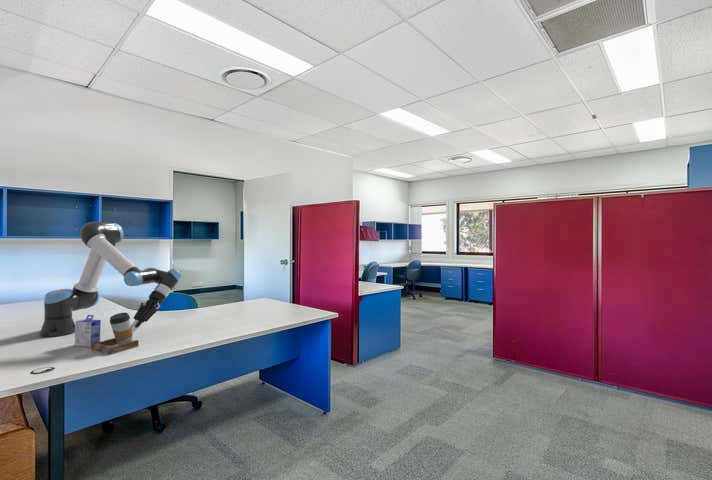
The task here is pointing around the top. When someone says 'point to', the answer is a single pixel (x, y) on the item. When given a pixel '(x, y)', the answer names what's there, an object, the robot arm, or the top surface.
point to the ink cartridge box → (87, 332)
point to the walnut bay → (110, 349)
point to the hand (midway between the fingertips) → (129, 332)
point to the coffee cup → (121, 328)
